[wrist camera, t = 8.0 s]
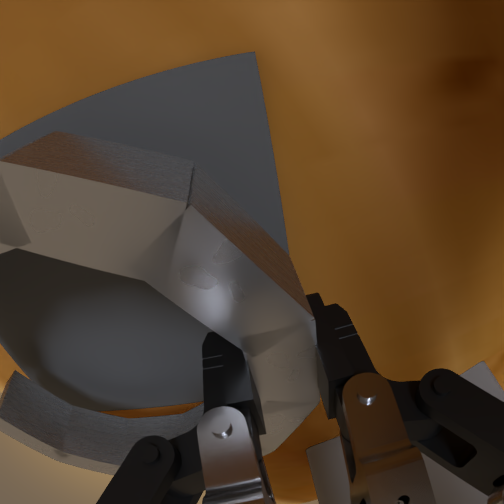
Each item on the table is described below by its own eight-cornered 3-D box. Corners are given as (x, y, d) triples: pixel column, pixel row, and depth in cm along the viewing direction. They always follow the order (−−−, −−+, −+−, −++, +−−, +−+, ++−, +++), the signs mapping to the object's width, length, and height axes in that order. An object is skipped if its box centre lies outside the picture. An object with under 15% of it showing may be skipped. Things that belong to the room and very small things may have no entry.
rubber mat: (-76, 192, 9) (-82, 197, 9) (252, 52, 9) (254, 51, 9) (63, 405, 18) (62, 411, 18) (302, 373, 18) (304, 381, 18)
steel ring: (-97, 224, 7) (-134, 261, 5) (258, 69, 7) (283, 67, 5) (61, 434, 16) (54, 472, 13) (308, 408, 16) (321, 455, 13)
